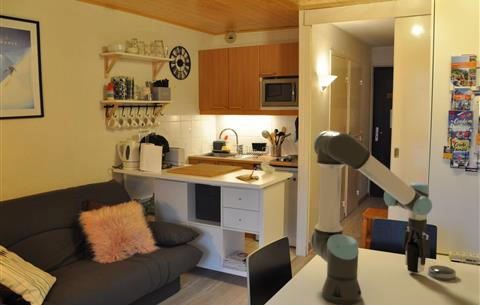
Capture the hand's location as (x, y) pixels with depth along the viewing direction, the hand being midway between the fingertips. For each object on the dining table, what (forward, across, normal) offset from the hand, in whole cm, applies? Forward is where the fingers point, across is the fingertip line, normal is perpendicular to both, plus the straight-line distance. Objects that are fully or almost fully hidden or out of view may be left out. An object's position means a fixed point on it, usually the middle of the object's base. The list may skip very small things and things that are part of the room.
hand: (414, 267), depth 191 cm
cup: (+1, 0, 0) cm, 1 cm away
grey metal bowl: (+3, -5, -11) cm, 12 cm away
